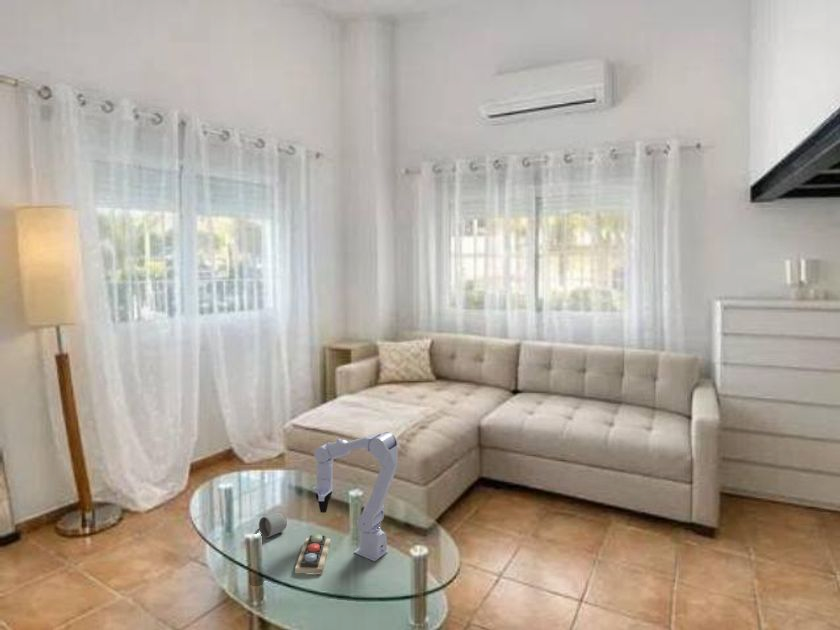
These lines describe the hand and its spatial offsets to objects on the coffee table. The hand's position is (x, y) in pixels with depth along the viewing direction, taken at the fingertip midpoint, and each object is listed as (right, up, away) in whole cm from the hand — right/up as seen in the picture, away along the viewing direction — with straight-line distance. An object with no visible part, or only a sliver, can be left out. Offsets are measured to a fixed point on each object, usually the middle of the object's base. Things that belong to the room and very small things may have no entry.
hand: (323, 511), depth 198 cm
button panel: (-1, -11, -13) cm, 17 cm away
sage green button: (-1, -9, -7) cm, 11 cm away
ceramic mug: (-21, -10, +4) cm, 23 cm away
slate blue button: (-1, -10, -20) cm, 22 cm away
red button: (-1, -9, -13) cm, 16 cm away
